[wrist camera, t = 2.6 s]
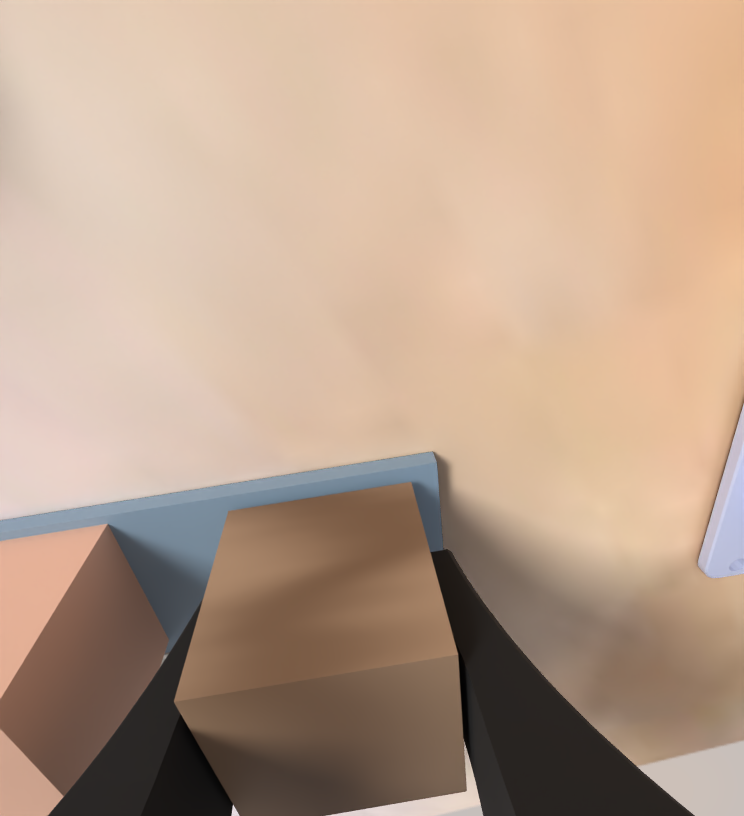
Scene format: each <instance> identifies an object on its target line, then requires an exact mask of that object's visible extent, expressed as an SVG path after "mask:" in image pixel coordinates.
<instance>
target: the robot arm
mask: <svg viewBox="0 0 744 816" xmlns="http://www.w3.org/2000/svg"><path fill="white" fill-rule="evenodd" d="M430 553H431V557H432V560H433V564H434V568H435V571H436V575H437V579H438V582H439V586H440V590H441V593H442V597H443V601H444V604H445V608H446V612H447V615H448V619H449V623H450V627H451V630H452V634H453V638H454V641H455V645H456V649H457V652H458V661H459V677H460V693H461V709H462V725H463V738H464V742H465V745H466V748H467V751H468V755H469V758H470V762H471V766H472V769H473V773H474V777H475V781H476V785H477V790H478V794H479V798H480V803H481V807H482V811H483V816H694V815H693V814H692V813H691V812H689V811H688V810H687V809H686V808H685V807H683V806H682V805H681V804H680V803H678V802H677V801H676V800H675V799H674V798H673V797H671V796H670V795H669V794H668V793H667V792H666V791H664V790H663V789H662V788H661V787H660V786H658V785H657V784H656V783H655V782H654V781H653V780H651V779H650V778H649V777H648V776H647V775H646V774H644V773H643V772H642V771H641V770H640V769H639V768H638V767H637V766H636V765H634V764H633V763H632V762H631V761H630V760H629V759H628V758H627V757H626V756H625V755H623V754H622V753H621V752H620V751H619V750H618V749H617V748H616V747H615V746H614V745H613V744H611V743H610V742H609V741H608V740H607V739H606V738H605V737H604V736H603V735H602V734H601V733H599V732H598V731H597V730H596V729H595V728H594V727H593V726H592V725H591V724H590V723H589V722H588V721H587V720H586V719H585V718H584V717H583V716H582V715H581V714H580V713H579V712H578V711H577V710H576V709H575V708H574V707H573V706H572V705H571V704H570V703H569V702H568V701H567V700H566V699H565V698H564V697H563V696H562V695H561V694H560V693H559V692H558V691H557V690H556V689H555V688H554V687H553V686H552V685H551V683H550V682H549V681H548V680H547V679H546V678H545V677H544V676H543V675H542V674H541V673H540V671H539V670H538V669H537V668H536V667H535V666H534V665H533V664H532V662H531V661H530V660H529V659H528V658H527V657H526V655H525V654H524V653H523V652H522V651H521V650H520V648H519V647H518V646H517V645H516V644H515V643H514V641H513V640H512V639H511V638H510V636H509V635H508V634H507V633H506V631H505V630H504V629H503V628H502V626H501V625H500V624H499V622H498V621H497V620H496V618H495V617H494V616H493V614H492V613H491V612H490V611H489V609H488V608H487V607H486V605H485V604H484V602H483V601H482V600H481V598H480V597H479V595H478V594H477V593H476V591H475V590H474V588H473V587H472V585H471V584H470V582H469V581H468V579H467V578H466V576H465V574H464V573H463V571H462V570H461V568H460V566H459V564H458V563H457V561H456V559H455V557H454V555H453V553H452V552H451V551H449V550H448V549H446V550H440V551H434V552H430ZM698 567H699V568H700V569H701V570H702V571H703V572H704V573H705V575H706V576H708V577H711V578H721V577H727V576H732V575H738V574H744V404H743V408H742V411H741V415H740V418H739V422H738V425H737V429H736V432H735V435H734V439H733V442H732V446H731V449H730V453H729V456H728V460H727V463H726V466H725V470H724V473H723V477H722V480H721V484H720V487H719V491H718V494H717V497H716V501H715V504H714V508H713V511H712V515H711V518H710V522H709V525H708V528H707V532H706V535H705V539H704V542H703V546H702V549H701V553H700V556H699V559H698ZM203 598H204V597H203ZM202 601H203V599H202ZM202 601H201V602H200V604H199V606H198V607H197V609H196V611H195V612H194V614H193V616H192V617H191V619H190V620H189V622H188V624H187V625H186V627H185V629H184V630H183V632H182V633H181V635H180V637H179V638H178V640H177V642H176V643H175V645H174V646H173V648H172V649H171V651H170V653H169V654H168V656H167V657H166V659H165V660H164V662H163V663H162V665H161V666H160V668H159V669H158V671H157V673H156V674H155V676H154V677H153V679H152V680H151V682H150V683H149V685H148V686H147V688H146V689H145V690H144V692H143V693H142V695H141V696H140V698H139V699H138V700H137V702H136V703H135V705H134V706H133V707H132V709H131V710H130V712H129V713H128V715H127V716H126V717H125V719H124V720H123V722H122V723H121V724H120V726H119V727H118V729H117V730H116V731H115V733H114V734H113V735H112V737H111V738H110V739H109V741H108V742H107V743H106V745H105V746H104V747H103V748H102V750H101V751H100V752H99V754H98V755H97V756H96V758H95V759H94V760H93V761H92V763H91V764H90V765H89V766H88V768H87V769H86V770H85V771H84V773H83V774H82V775H81V776H80V778H79V779H78V780H77V781H76V783H75V784H74V785H73V786H72V787H71V789H70V790H69V791H68V792H67V793H66V794H65V796H64V797H63V798H62V799H61V800H60V802H59V803H58V804H57V805H56V806H55V807H54V809H53V810H52V811H51V812H50V813H49V815H48V816H231V814H232V807H233V803H232V801H231V800H230V798H229V796H228V794H227V793H226V791H225V789H224V788H223V786H222V784H221V782H220V781H219V779H218V777H217V776H216V774H215V772H214V770H213V769H212V767H211V765H210V763H209V762H208V760H207V758H206V757H205V755H204V753H203V751H202V750H201V748H200V746H199V745H198V743H197V741H196V739H195V738H194V736H193V734H192V732H191V731H190V729H189V727H188V726H187V724H186V722H185V720H184V719H183V717H182V715H181V714H180V712H179V710H178V708H177V707H176V705H175V703H174V699H175V696H176V692H177V689H178V685H179V682H180V678H181V675H182V671H183V668H184V664H185V661H186V657H187V654H188V650H189V647H190V643H191V640H192V636H193V633H194V629H195V626H196V622H197V619H198V615H199V612H200V608H201V605H202Z"/></svg>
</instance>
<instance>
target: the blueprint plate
mask: <svg viewBox="0 0 744 816" xmlns="http://www.w3.org/2000/svg"><path fill="white" fill-rule="evenodd" d="M407 482H411V483H412V487H413V490H414V494H415V498H416V501H417V505H418V509H419V512H420V516H421V520H422V523H423V527H424V531H425V534H426V538H427V542H428V546H429V549H430V552H434V551H440V550H443V538H442V525H441V512H440V498H439V485H438V471H437V462H436V459H435V456H434V454H433V452H427V453H421V454H414V455H408V456H402V457H396V458H389V459H383V460H377V461H371V462H364V463H358V464H352V465H346V466H339V467H333V468H327V469H321V470H314V471H308V472H302V473H296V474H289V475H283V476H277V477H270V478H264V479H258V480H252V481H245V482H239V483H233V484H227V485H220V486H214V487H208V488H202V489H195V490H189V491H183V492H177V493H170V494H164V495H158V496H152V497H145V498H139V499H133V500H126V501H120V502H114V503H108V504H101V505H95V506H89V507H83V508H76V509H70V510H64V511H58V512H51V513H45V514H39V515H33V516H26V517H20V518H14V519H8V520H1V521H0V541H4V540H10V539H16V538H22V537H28V536H35V535H41V534H47V533H53V532H60V531H66V530H72V529H78V528H84V527H91V526H97V525H103V524H108V525H109V527H110V529H111V531H112V533H113V535H114V537H115V539H116V540H117V542H118V544H119V546H120V548H121V550H122V552H123V554H124V556H125V557H126V559H127V561H128V563H129V565H130V567H131V569H132V571H133V573H134V574H135V576H136V578H137V580H138V582H139V584H140V586H141V588H142V590H143V591H144V593H145V595H146V597H147V599H148V601H149V603H150V605H151V606H152V608H153V610H154V612H155V614H156V616H157V618H158V620H159V622H160V623H161V625H162V627H163V629H164V631H165V633H166V635H167V637H168V639H169V642H168V645H167V648H166V651H165V654H164V657H163V660H162V663H163V662H164V660H165V659H166V657H167V656H168V654H169V653H170V651H171V649H172V648H173V646H174V645H175V643H176V642H177V640H178V638H179V637H180V635H181V633H182V632H183V630H184V629H185V627H186V625H187V624H188V622H189V620H190V619H191V617H192V616H193V614H194V612H195V611H196V609H197V607H198V606H199V604H200V602H201V601H202V599H203V597H204V594H205V591H206V587H207V584H208V580H209V577H210V573H211V570H212V566H213V563H214V559H215V556H216V552H217V549H218V545H219V542H220V538H221V535H222V531H223V528H224V524H225V521H226V517H227V514H228V511H231V510H237V509H244V508H250V507H256V506H263V505H269V504H275V503H281V502H288V501H294V500H300V499H306V498H313V497H319V496H325V495H332V494H338V493H344V492H350V491H357V490H363V489H369V488H376V487H382V486H388V485H394V484H401V483H407ZM162 663H161V665H162Z"/></svg>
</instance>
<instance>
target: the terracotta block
mask: <svg viewBox="0 0 744 816" xmlns="http://www.w3.org/2000/svg"><path fill="white" fill-rule="evenodd" d="M168 642H169V639H168V637H167V635H166V633H165V631H164V629H163V627H162V625H161V623H160V622H159V620H158V618H157V616H156V614H155V612H154V610H153V608H152V606H151V605H150V603H149V601H148V599H147V597H146V595H145V593H144V591H143V590H142V588H141V586H140V584H139V582H138V580H137V578H136V576H135V574H134V573H133V571H132V569H131V567H130V565H129V563H128V561H127V559H126V557H125V556H124V554H123V552H122V550H121V548H120V546H119V544H118V542H117V540H116V539H115V537H114V535H113V533H112V531H111V529H110V527H109V525H108V524H103V525H97V526H91V527H84V528H78V529H72V530H66V531H60V532H53V533H47V534H41V535H35V536H28V537H22V538H16V539H10V540H4V541H0V816H48V815H49V813H50V812H51V811H52V810H53V809H54V807H55V806H56V805H57V804H58V803H59V802H60V800H61V799H62V798H63V797H64V796H65V794H66V793H67V792H68V791H69V790H70V789H71V787H72V786H73V785H74V784H75V783H76V781H77V780H78V779H79V778H80V776H81V775H82V774H83V773H84V771H85V770H86V769H87V768H88V766H89V765H90V764H91V763H92V761H93V760H94V759H95V758H96V756H97V755H98V754H99V752H100V751H101V750H102V748H103V747H104V746H105V745H106V743H107V742H108V741H109V739H110V738H111V737H112V735H113V734H114V733H115V731H116V730H117V729H118V727H119V726H120V724H121V723H122V722H123V720H124V719H125V717H126V716H127V715H128V713H129V712H130V710H131V709H132V707H133V706H134V705H135V703H136V702H137V700H138V699H139V698H140V696H141V695H142V693H143V692H144V690H145V689H146V688H147V686H148V685H149V683H150V682H151V680H152V679H153V677H154V676H155V674H156V673H157V671H158V669H159V668H160V666H161V663H162V660H163V657H164V654H165V651H166V648H167V645H168Z"/></svg>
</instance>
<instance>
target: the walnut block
mask: <svg viewBox="0 0 744 816" xmlns="http://www.w3.org/2000/svg"><path fill="white" fill-rule="evenodd" d="M174 703H175V705H176V707H177V708H178V710H179V712H180V714H181V715H182V717H183V719H184V720H185V722H186V724H187V726H188V727H189V729H190V731H191V732H192V734H193V736H194V738H195V739H196V741H197V743H198V745H199V746H200V748H201V750H202V751H203V753H204V755H205V757H206V758H207V760H208V762H209V763H210V765H211V767H212V769H213V770H214V772H215V774H216V776H217V777H218V779H219V781H220V782H221V784H222V786H223V788H224V789H225V791H226V793H227V794H228V796H229V798H230V800H231V801H232V803H233V805H234V807H235V808H236V810H237V812H238V813H239V815H240V816H326V815H332V814H338V813H343V812H349V811H355V810H361V809H367V808H372V807H378V806H384V805H390V804H396V803H402V802H407V801H413V800H419V799H425V798H431V797H436V796H442V795H448V794H454V793H460V792H465V791H467V788H466V772H465V756H464V740H463V725H462V709H461V693H460V677H459V661H458V652H457V649H456V645H455V641H454V638H453V634H452V630H451V627H450V623H449V619H448V615H447V612H446V608H445V604H444V601H443V597H442V593H441V590H440V586H439V582H438V579H437V575H436V571H435V568H434V564H433V560H432V557H431V553H430V549H429V546H428V542H427V538H426V534H425V531H424V527H423V523H422V520H421V516H420V512H419V509H418V505H417V501H416V498H415V494H414V490H413V487H412V483H411V482H407V483H401V484H394V485H388V486H382V487H376V488H369V489H363V490H357V491H350V492H344V493H338V494H332V495H325V496H319V497H313V498H306V499H300V500H294V501H288V502H281V503H275V504H269V505H263V506H256V507H250V508H244V509H237V510H231V511H228V514H227V517H226V521H225V524H224V528H223V531H222V535H221V538H220V542H219V545H218V549H217V552H216V556H215V559H214V563H213V566H212V570H211V573H210V577H209V580H208V584H207V587H206V591H205V594H204V598H203V601H202V605H201V608H200V612H199V615H198V619H197V622H196V626H195V629H194V633H193V636H192V640H191V643H190V647H189V650H188V654H187V657H186V661H185V664H184V668H183V671H182V675H181V678H180V682H179V685H178V689H177V692H176V696H175V699H174Z"/></svg>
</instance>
